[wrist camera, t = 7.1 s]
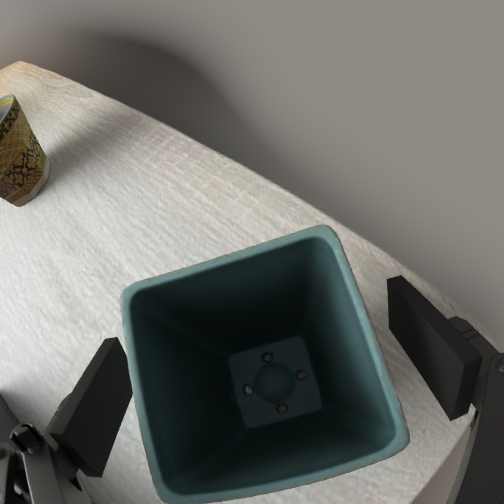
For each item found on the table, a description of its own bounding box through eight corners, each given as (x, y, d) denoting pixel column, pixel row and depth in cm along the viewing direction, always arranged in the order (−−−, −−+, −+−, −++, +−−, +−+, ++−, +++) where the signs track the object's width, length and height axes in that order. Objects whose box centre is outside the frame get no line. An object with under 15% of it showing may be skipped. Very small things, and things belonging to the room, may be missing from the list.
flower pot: (189, 333, 20) (116, 285, 12) (322, 293, 20) (332, 218, 12) (221, 464, 16) (159, 507, 8) (365, 426, 16) (414, 447, 8)
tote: (107, 515, 15) (72, 529, 11) (57, 592, 10) (29, 604, 6) (-3, 389, 20) (-38, 381, 16) (-34, 483, 15) (-63, 483, 11)
